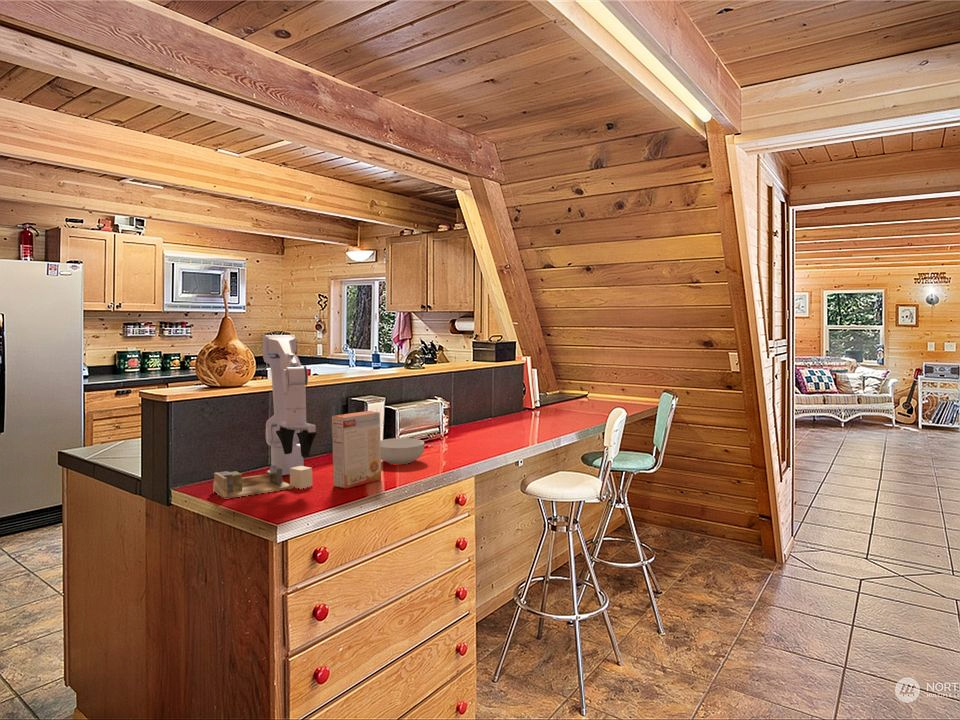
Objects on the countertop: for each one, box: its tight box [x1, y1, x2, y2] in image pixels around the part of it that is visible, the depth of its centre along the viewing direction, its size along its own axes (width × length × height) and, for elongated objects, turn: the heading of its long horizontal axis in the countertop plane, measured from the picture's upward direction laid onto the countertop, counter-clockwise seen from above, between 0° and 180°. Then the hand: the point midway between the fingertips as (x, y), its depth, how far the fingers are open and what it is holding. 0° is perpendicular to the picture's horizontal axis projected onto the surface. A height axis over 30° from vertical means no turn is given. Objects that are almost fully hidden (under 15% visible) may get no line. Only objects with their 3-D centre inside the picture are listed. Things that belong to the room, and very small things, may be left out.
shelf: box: [212, 470, 294, 500], centre depth 181 cm, size 19×10×6 cm, turn 129°
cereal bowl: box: [380, 437, 425, 465], centre depth 218 cm, size 17×17×7 cm
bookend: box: [269, 465, 283, 484], centre depth 186 cm, size 2×5×4 cm, turn 39°
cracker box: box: [331, 410, 382, 490], centre depth 189 cm, size 14×6×21 cm, turn 141°
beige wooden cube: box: [289, 466, 313, 490], centre depth 186 cm, size 4×5×6 cm
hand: (296, 455), depth 184 cm, fingers open, 7 cm apart
